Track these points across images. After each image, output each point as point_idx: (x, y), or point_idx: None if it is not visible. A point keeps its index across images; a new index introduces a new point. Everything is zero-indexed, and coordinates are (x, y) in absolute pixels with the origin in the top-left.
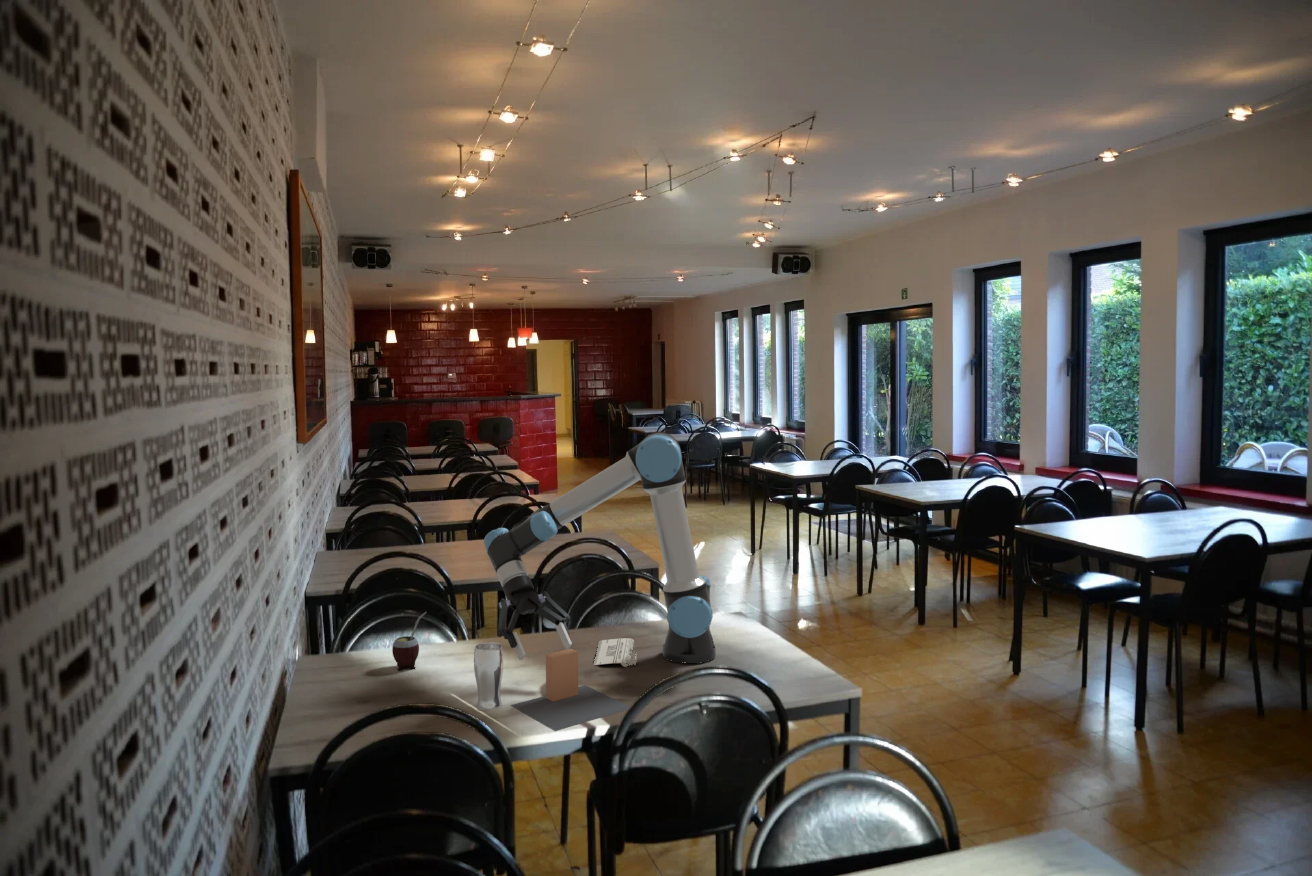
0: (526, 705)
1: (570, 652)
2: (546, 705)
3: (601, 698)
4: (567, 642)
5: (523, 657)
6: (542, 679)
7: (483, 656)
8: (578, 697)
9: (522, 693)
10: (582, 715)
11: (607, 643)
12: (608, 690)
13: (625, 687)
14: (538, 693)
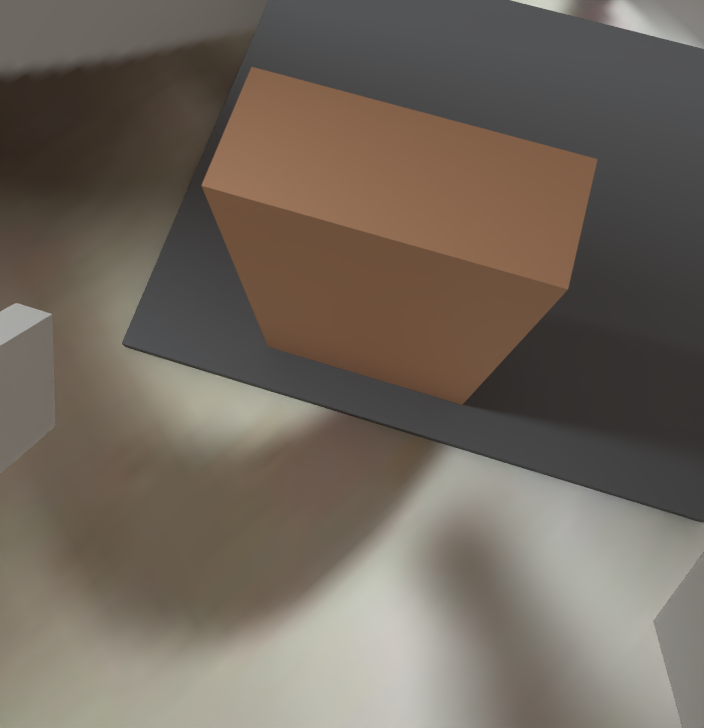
0: (637, 425)
1: (331, 107)
2: (554, 321)
3: None
4: (20, 360)
5: (690, 578)
6: (148, 722)
7: None
8: None
9: (468, 635)
10: (532, 77)
11: None
12: (112, 195)
13: (18, 145)
14: (400, 533)
